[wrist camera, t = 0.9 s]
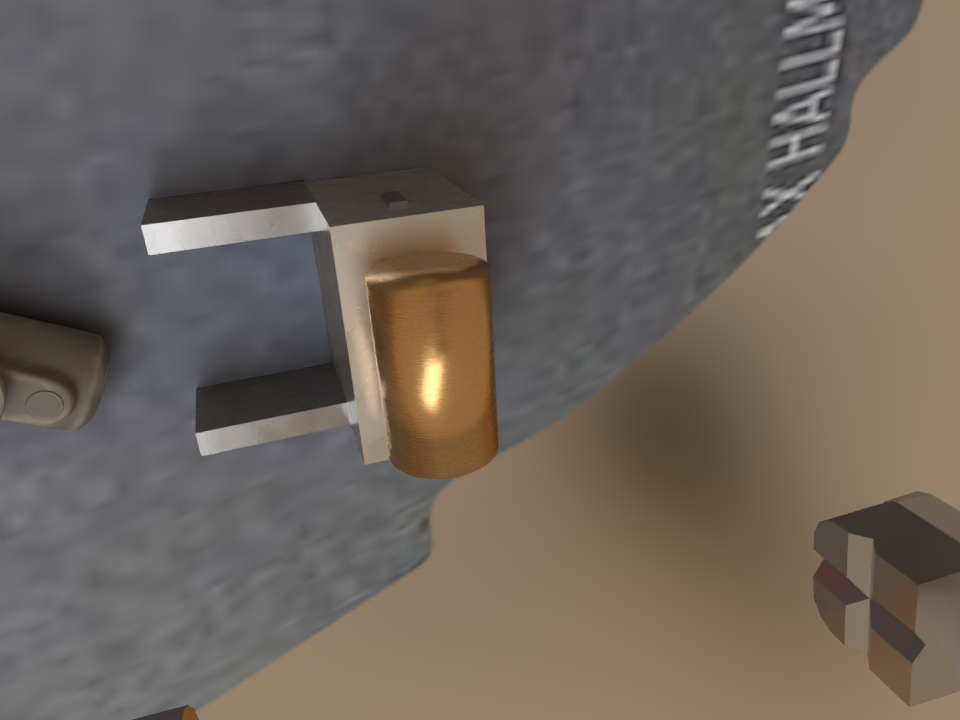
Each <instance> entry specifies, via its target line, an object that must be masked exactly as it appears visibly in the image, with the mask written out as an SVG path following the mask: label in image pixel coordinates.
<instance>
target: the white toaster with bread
mask: <svg viewBox="0 0 960 720" xmlns="http://www.w3.org/2000/svg"><path fill="white" fill-rule="evenodd" d="M141 228H142V231H143V235H144V239H145V243H146V247H147V250H148V254H149V255H153V254H160V253H167V252H174V251H181V250H188V249H195V248H202V247H209V246H216V245H223V244H230V243H237V242H244V241H251V240H258V239H265V238H272V237H279V236H286V235H293V234H300V233H307V232H312V237H313V243H314V250H315V256H316V262H317V268H318V275H319V281H320V287H321V293H322V300H323V306H324V312H325V318H326V325H327V331H328V337H329V343H330V350H331V356H332V362H333V363H330V364H325V365H320V366H315V367H309V368H304V369H299V370H293V371H288V372H283V373H278V374H272V375H267V376H262V377H257V378H251V379H246V380H241V381H235V382H230V383H225V384H220V385H214V386H209V387H204V388H199V389H196V437H197V441H198V445H199V448H200V452H201V456H204V455H209V454H214V453H219V452H223V451H228V450H233V449H237V448H242V447H247V446H252V445H256V444H261V443H266V442H270V441H275V440H280V439H285V438H289V437H294V436H299V435H303V434H308V433H313V432H318V431H322V430H327V429H332V428H336V427H341V426H346V425H350V424H351V427H352V430H353V433H354V436H355V438H356V441H357V444H358V447H359V450H360V452H361V455H362V458H363V461H364V464H365V465H366V464H370V463H375V462H379V461H384V460H388V459H390V461H391V463H392V464H393V465H394V466H395V467H396V468H397V469H399V470H400V471H402V472H404V473H406V474H408V475H412V476H415V477H420V478H427V479H446V478H454V477H459V476H463V475H466V474H469V473H472V472H474V471H476V470H478V469H480V468H482V467H483V466H485V465H486V464H488V463H489V462H490V461H491V460H492V459H493V458H494V457H495V455H496V453H497V451H498V448H499V438H498V419H497V400H496V381H495V362H494V343H493V324H492V306H491V287H490V268H489V265H488V263H487V257H486V238H485V220H484V205H483V204H481V203H480V202H478V201H477V200H476V199H474V198H473V197H471V196H470V195H469V194H467V193H466V192H464V191H463V190H462V189H460V188H459V187H457V186H456V185H454V184H453V183H452V182H450V181H449V180H447V179H446V178H445V177H443V176H442V175H440V174H439V173H438V172H436V171H435V170H433V169H432V168H430V167H429V166H428V167H420V168H412V169H404V170H396V171H388V172H380V173H372V174H364V175H356V176H348V177H340V178H332V179H324V180H316V181H308V182H304V180H303V181H295V182H287V183H278V184H270V185H262V186H254V187H246V188H238V189H230V190H222V191H214V192H206V193H198V194H190V195H182V196H174V197H166V198H158V199H150V200H148V202H147V206H146V209H145V213H144V216H143V220H142V223H141Z"/></svg>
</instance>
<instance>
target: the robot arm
mask: <svg viewBox="0 0 960 720" xmlns="http://www.w3.org/2000/svg"><path fill="white" fill-rule="evenodd" d="M814 550H815V551H816V552H817V553H818V554H819V555H820V556H821V557H822V559H823V561H822V563H821V564H820V566H819V568H818V569H817V571H816V573H815V574H814V576H813V591H814V600H815V603H816V605H817V608H818V611H819V613H820V616H821V618H822V620H823V621H824V623H825V624H826V625H827V627H828V629H829V630H830V631H831V632H832V634H833V635H834V636H835V637H836V638H837V639H838V640H839V641H840V642H841V643H842V644H843V645H845V646H847V647H850V648H853V649H855V650H858V651H861V652H864V653H866V654H867V655H868V662H869V669H870V670H871V671H872V672H873V673H874V674H875V675H876V676H877V677H878V678H879V679H880V680H881V681H883V683H884V684H885V685H887V686H888V687H889V688H890V689H891V690H892V691H893V692H894V693H895V694H896V695H897V696H898V697H899V698H900V699H901V700H902V701H904V702H905V703H906V704H907V705H908V706H909V707H911V706H914V705H917V704H920V703H923V702H927V701H930V700H933V699H936V698H939V697H943V696H946V695H949V694H952V693H955V692H958V691H960V511H959V510H957V509H955V508H953V507H952V506H950V505H948V504H947V503H945V502H943V501H942V500H940V499H938V498H936V497H935V496H933V495H931V494H929V493H924V492H913V493H910V494H907V495H904V496H900V497H897V498H894V499H891V500H888V501H885V502H884V503H883V504H878V505H875V506H871V507H868V508H865V509H861V510H858V511H855V512H851V513H848V514H845V515H841V516H838V517H834V518H831V519H827V520H824V521H821V522H819V523H818V525H817V528H816V530H815V532H814ZM133 720H199V719H198V716H197V714H196V711H195V709H194V708H193V707H191V706H189V705H186V706H182V707H178V708H175V709H171V710H167V711H163V712H160V713H156V714H152V715H148V716H145V717H141V718H137V719H133Z"/></svg>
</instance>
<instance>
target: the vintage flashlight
mask: <svg viewBox="0 0 960 720" xmlns="http://www.w3.org/2000/svg"><path fill="white" fill-rule="evenodd" d="M109 364H110V354H109V350H108V348H107V346H106V344H105V342H104V340H103V338H102V337H101V336H100V335H97V334H94V333H90V332H86V331H83V330H79V329H74V328H70V327H65V326H61V325H56V324H52V323H47V322H43V321H38V320H34V319H29V318H25V317H20V316H16V315H12V314H7V313H3V312H0V420H1V421H7V422H14V423H20V424H26V425H32V426H38V427H44V428H50V429H57V430H66V431H76V430H78V429H80V428H81V427H83V426H84V425H85V424H87V423H88V422H89V421H90V420H91V419H92V418H93V416H94V414H95V412H96V410H97V408H98V406H99V403H100V400H101V397H102V394H103V391H104V388H105V384H106V381H107V376H108V371H109Z"/></svg>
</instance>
